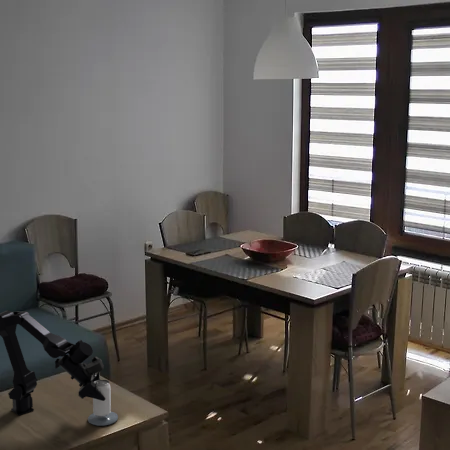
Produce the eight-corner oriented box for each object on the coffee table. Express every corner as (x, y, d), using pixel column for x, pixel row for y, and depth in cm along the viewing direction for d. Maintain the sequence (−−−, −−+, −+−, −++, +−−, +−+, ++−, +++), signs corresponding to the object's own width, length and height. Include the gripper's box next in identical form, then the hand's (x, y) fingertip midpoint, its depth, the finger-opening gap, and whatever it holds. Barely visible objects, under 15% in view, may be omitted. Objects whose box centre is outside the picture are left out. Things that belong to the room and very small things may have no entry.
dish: (98, 429, 252) (98, 427, 252) (82, 419, 260) (82, 416, 260) (123, 420, 259) (123, 418, 259) (107, 410, 267) (107, 408, 267)
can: (107, 417, 255) (106, 386, 253) (90, 415, 256) (90, 385, 254) (113, 410, 261) (112, 379, 259) (97, 408, 263) (96, 378, 261)
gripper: (87, 363, 245) (118, 392, 248) (93, 344, 263) (122, 371, 266) (65, 384, 246) (97, 413, 249) (72, 364, 264) (102, 390, 267)
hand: (105, 396), depth 258 cm, fingers closed on can, 6 cm apart
